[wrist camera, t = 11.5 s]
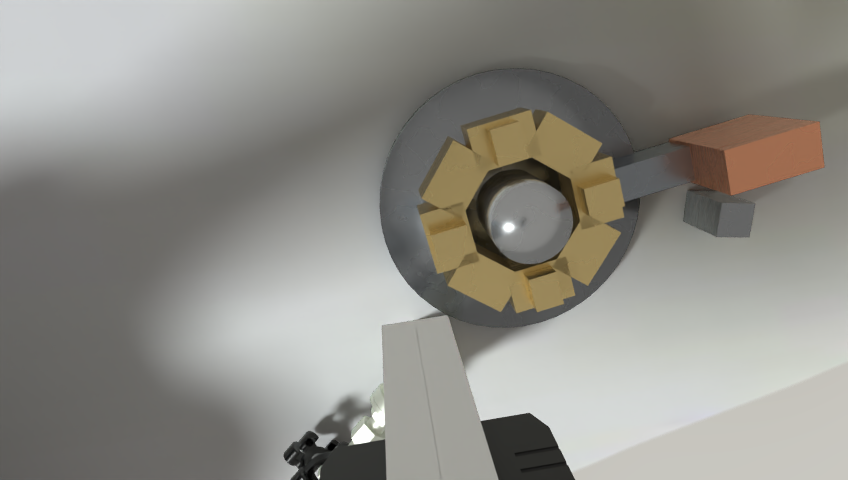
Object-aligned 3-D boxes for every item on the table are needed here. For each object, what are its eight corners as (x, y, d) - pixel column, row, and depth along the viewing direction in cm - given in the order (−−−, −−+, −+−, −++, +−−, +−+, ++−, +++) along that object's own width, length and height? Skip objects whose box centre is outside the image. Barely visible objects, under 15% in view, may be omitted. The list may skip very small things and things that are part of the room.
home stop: (683, 221, 40) (716, 236, 36) (687, 190, 39) (722, 203, 35) (712, 221, 40) (749, 237, 36) (717, 191, 39) (755, 203, 35)
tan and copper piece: (449, 315, 38) (463, 357, 33) (398, 144, 35) (402, 157, 30) (764, 219, 38) (833, 245, 33) (738, 40, 35) (810, 33, 30)
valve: (404, 293, 39) (290, 425, 41) (409, 335, 33) (274, 489, 35) (480, 351, 41) (367, 476, 43) (499, 402, 35) (365, 546, 36)
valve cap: (400, 339, 40) (405, 383, 34) (359, 89, 36) (357, 92, 30) (639, 300, 41) (682, 337, 35) (627, 50, 36) (674, 46, 31)
